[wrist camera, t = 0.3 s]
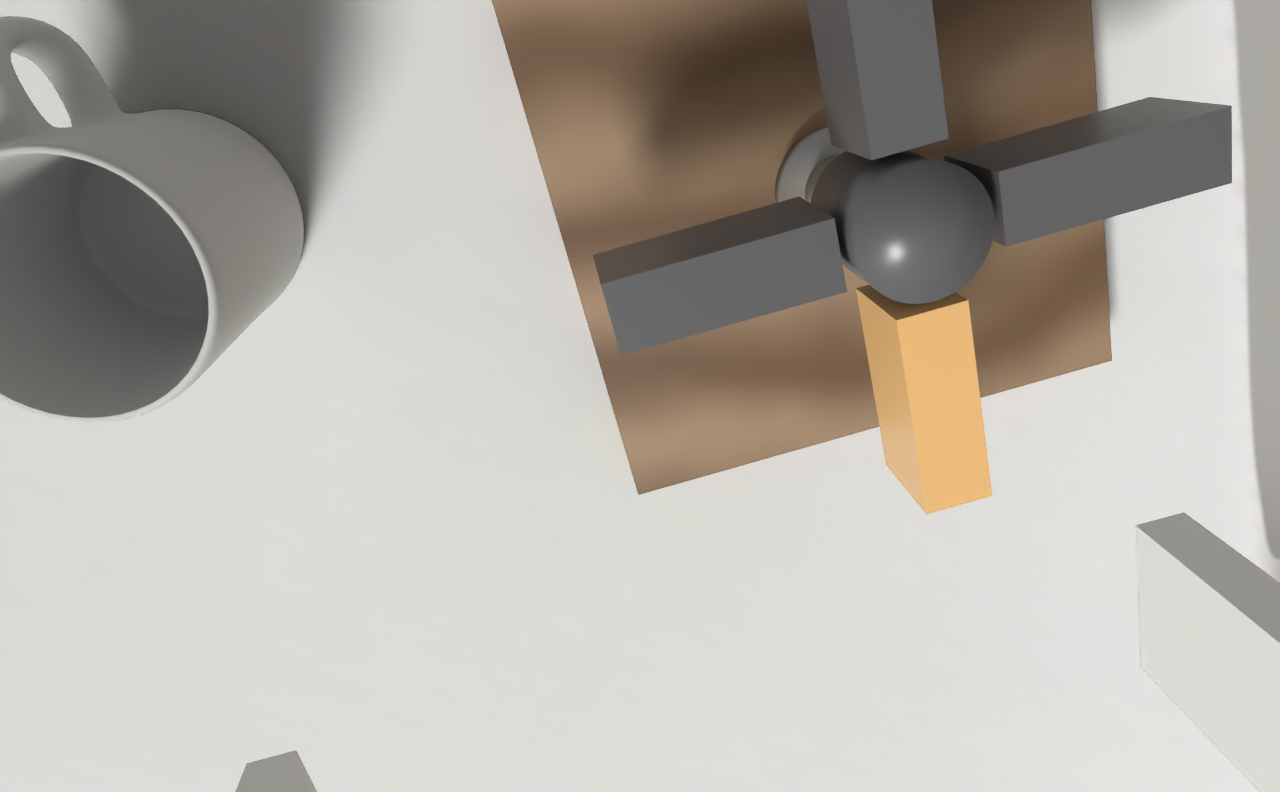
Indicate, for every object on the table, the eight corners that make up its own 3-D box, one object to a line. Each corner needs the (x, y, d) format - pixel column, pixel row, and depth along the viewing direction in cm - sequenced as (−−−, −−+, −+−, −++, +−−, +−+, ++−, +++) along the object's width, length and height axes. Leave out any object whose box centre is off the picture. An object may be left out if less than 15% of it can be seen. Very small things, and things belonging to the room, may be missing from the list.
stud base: (485, -29, 34) (475, -41, 29) (1049, -188, 34) (1148, -230, 29) (633, 474, 43) (648, 540, 37) (1087, 346, 43) (1169, 393, 37)
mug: (343, 280, 38) (273, 371, 28) (152, 350, 38) (14, 466, 28) (195, -21, 33) (48, -42, 23) (-20, 61, 34) (-260, 74, 23)
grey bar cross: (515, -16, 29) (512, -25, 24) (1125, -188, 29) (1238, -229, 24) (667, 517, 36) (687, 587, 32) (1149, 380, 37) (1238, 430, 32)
